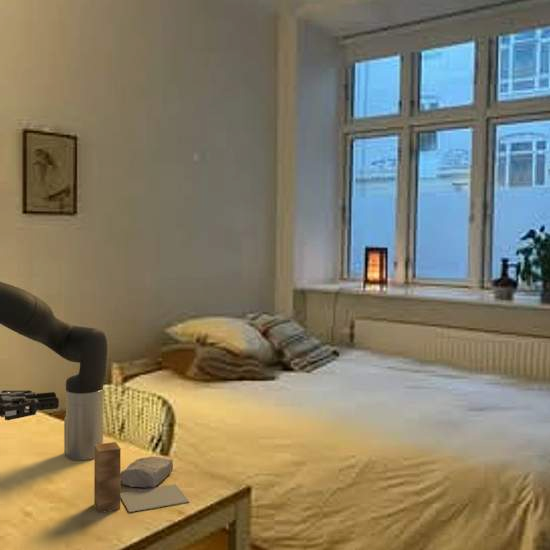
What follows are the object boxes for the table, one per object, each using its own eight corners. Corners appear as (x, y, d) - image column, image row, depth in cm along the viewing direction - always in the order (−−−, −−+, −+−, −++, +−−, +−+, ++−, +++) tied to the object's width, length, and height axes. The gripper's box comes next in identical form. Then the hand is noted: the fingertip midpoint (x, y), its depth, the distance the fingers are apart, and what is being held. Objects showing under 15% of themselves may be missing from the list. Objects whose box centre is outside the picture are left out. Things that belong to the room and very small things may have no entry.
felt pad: (129, 513, 132) (129, 511, 132) (118, 494, 141) (118, 493, 141) (189, 502, 138) (189, 501, 138) (175, 485, 147) (175, 484, 147)
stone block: (117, 493, 145) (158, 488, 143) (114, 472, 145) (154, 467, 143) (139, 476, 157) (177, 471, 155) (136, 457, 157) (173, 452, 155)
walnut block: (98, 512, 132) (98, 451, 131) (94, 504, 136) (94, 444, 135) (120, 509, 134) (120, 448, 133) (115, 500, 138) (115, 442, 137)
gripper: (-38, 398, 114) (62, 389, 122) (-38, 381, 127) (52, 374, 135) (-38, 439, 115) (62, 428, 123) (-38, 417, 128) (52, 409, 135)
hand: (56, 400), depth 129 cm, fingers open, 3 cm apart
